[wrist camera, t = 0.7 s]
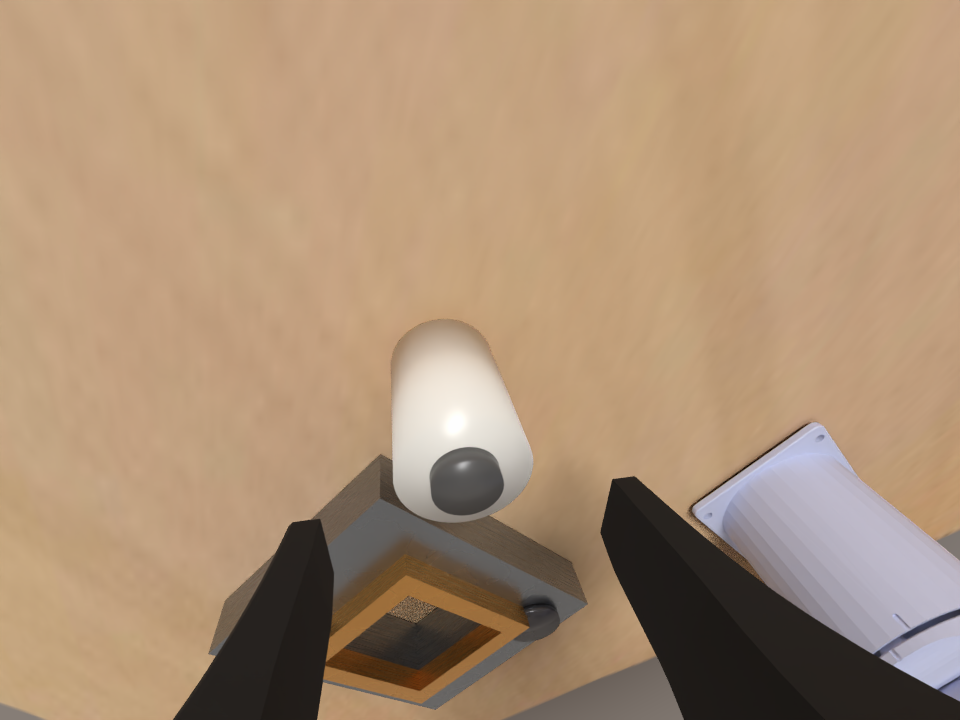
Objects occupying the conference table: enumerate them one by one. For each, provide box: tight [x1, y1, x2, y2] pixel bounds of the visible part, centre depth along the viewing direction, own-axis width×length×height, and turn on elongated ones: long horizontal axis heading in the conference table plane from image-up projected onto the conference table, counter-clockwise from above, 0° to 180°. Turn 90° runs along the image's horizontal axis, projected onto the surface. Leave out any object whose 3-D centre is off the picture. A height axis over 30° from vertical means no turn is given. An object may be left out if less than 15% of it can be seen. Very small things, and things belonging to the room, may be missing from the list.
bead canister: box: [391, 319, 533, 523], centre depth 15 cm, size 4×4×7 cm
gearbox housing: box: [209, 454, 588, 710], centre depth 23 cm, size 14×12×4 cm
